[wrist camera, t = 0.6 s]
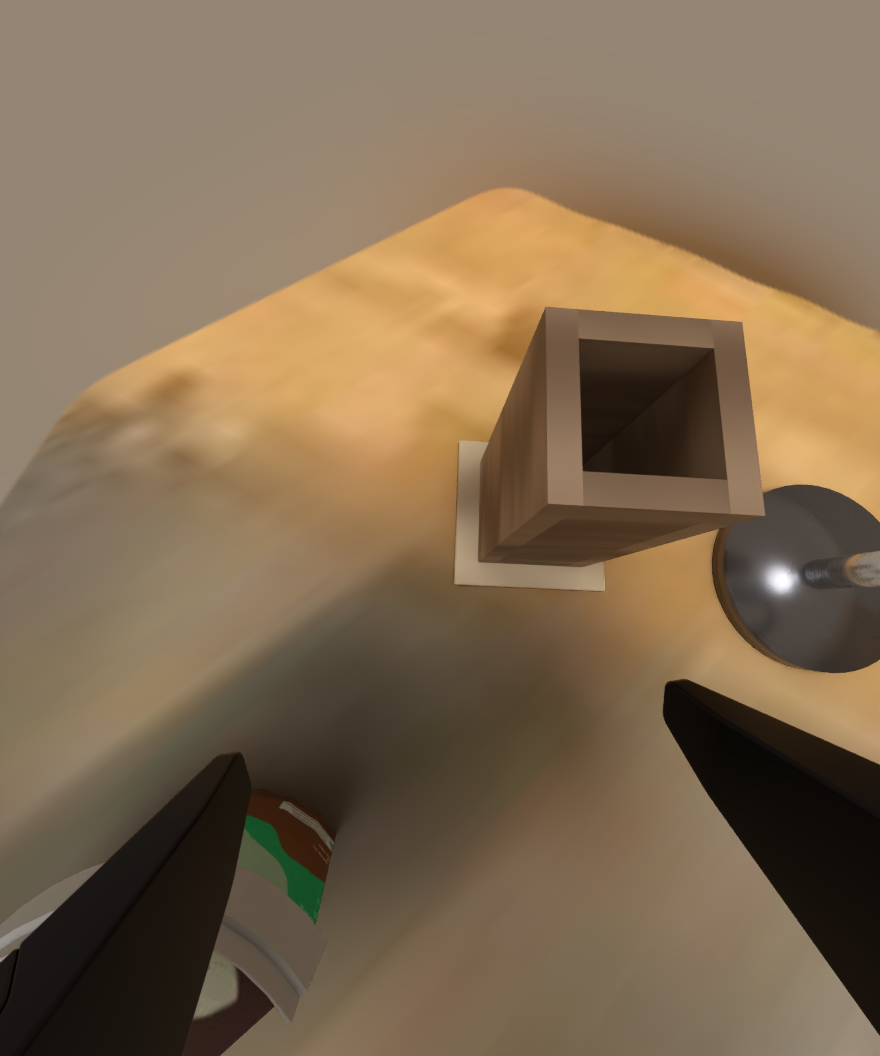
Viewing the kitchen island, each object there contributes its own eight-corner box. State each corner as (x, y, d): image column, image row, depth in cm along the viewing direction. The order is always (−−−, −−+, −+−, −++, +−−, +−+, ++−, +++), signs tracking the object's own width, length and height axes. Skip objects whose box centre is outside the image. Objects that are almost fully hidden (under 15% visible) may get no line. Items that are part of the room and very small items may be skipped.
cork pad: (600, 591, 23) (604, 590, 22) (453, 584, 22) (454, 584, 22) (595, 452, 24) (599, 449, 24) (458, 444, 24) (459, 440, 23)
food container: (290, 704, 21) (176, 786, 11) (362, 813, 20) (310, 1006, 10) (54, 885, 19) (-347, 1186, 9) (124, 1014, 18) (-229, 1498, 8)
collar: (582, 567, 22) (765, 515, 11) (478, 562, 22) (547, 503, 10) (579, 468, 23) (741, 322, 12) (480, 461, 23) (545, 306, 11)
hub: (919, 615, 23) (1053, 615, 18) (782, 705, 22) (887, 731, 17) (813, 463, 25) (909, 426, 20) (678, 538, 23) (747, 518, 19)
